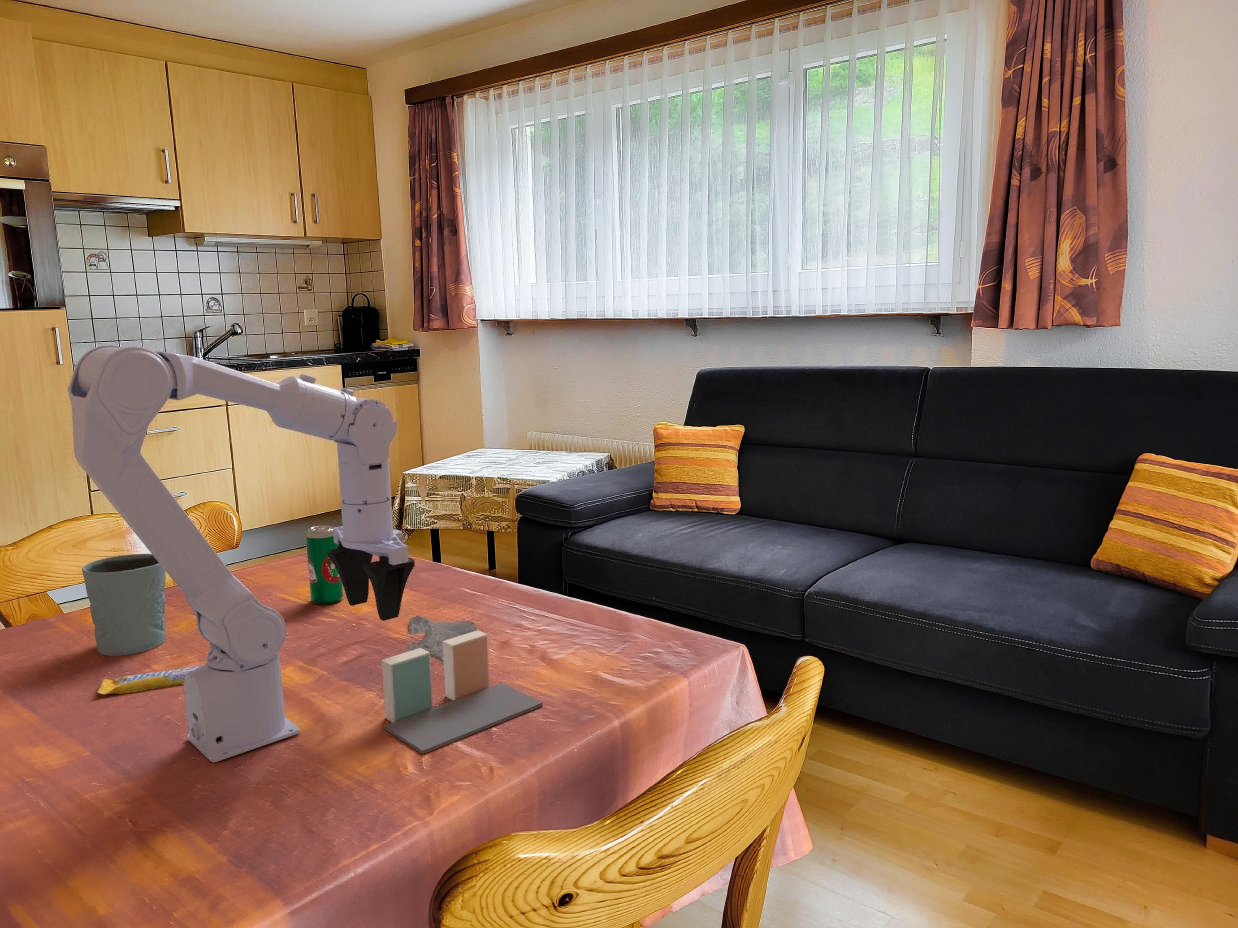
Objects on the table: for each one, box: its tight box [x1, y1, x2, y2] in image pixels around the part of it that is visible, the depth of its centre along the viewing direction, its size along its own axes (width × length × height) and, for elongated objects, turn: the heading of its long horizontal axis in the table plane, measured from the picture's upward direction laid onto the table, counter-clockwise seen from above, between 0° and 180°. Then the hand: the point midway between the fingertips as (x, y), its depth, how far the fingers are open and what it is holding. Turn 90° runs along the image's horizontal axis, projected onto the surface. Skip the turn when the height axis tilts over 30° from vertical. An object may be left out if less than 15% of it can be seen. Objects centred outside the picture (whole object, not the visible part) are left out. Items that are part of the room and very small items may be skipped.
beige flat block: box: [381, 648, 434, 723], centre depth 101 cm, size 5×2×7 cm, turn 133°
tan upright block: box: [443, 629, 491, 701], centre depth 106 cm, size 5×2×7 cm, turn 134°
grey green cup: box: [81, 553, 167, 657], centre depth 124 cm, size 10×10×12 cm
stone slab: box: [405, 614, 476, 665], centre depth 124 cm, size 18×2×10 cm
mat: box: [383, 682, 544, 755], centre depth 100 cm, size 16×8×1 cm, turn 134°
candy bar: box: [96, 665, 203, 696], centre depth 112 cm, size 17×4×2 cm, turn 112°
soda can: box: [305, 524, 344, 606], centre depth 142 cm, size 5×5×12 cm
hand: (373, 610), depth 106 cm, fingers open, 7 cm apart
